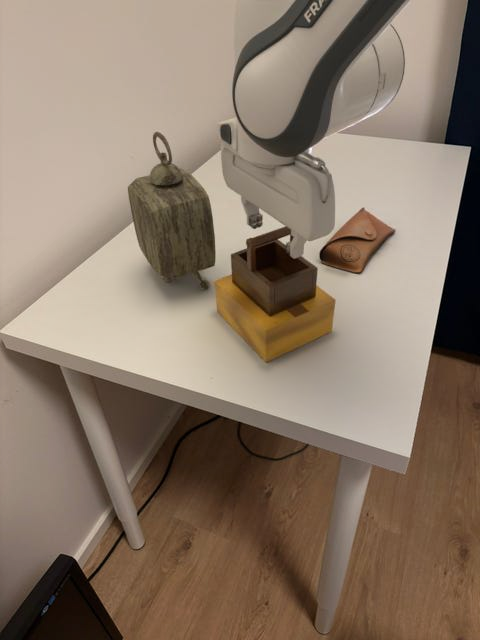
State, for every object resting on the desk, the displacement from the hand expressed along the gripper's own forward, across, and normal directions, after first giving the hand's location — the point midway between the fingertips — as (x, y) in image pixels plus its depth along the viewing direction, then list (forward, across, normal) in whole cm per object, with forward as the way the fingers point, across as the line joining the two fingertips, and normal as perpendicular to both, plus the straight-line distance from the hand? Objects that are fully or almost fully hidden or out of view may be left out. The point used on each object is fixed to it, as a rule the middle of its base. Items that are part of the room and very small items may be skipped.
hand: (273, 239), depth 66 cm
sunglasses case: (+15, +9, -26) cm, 31 cm away
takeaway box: (+14, 0, 0) cm, 14 cm away
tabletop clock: (+15, +19, +7) cm, 25 cm away
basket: (+8, 0, 0) cm, 8 cm away
